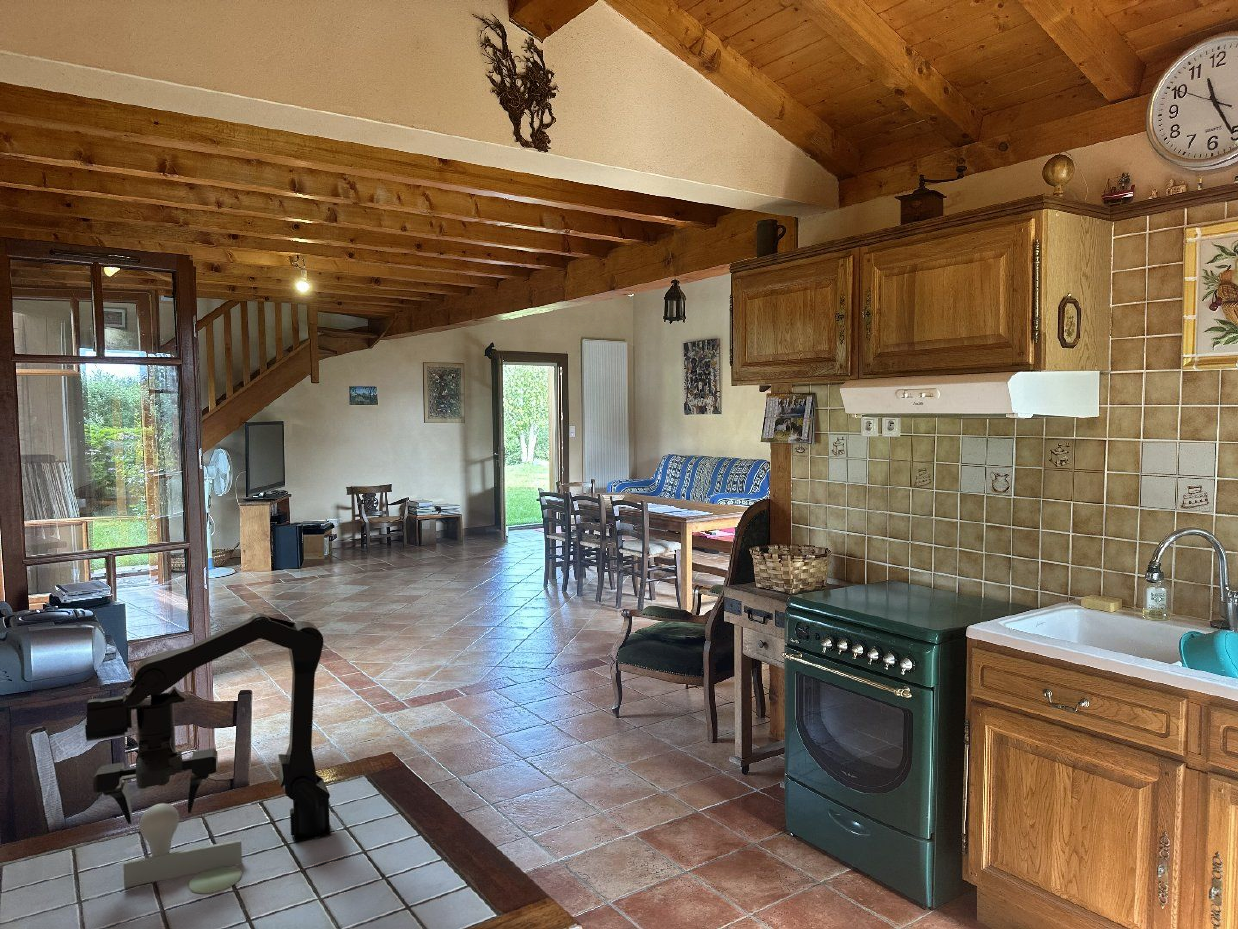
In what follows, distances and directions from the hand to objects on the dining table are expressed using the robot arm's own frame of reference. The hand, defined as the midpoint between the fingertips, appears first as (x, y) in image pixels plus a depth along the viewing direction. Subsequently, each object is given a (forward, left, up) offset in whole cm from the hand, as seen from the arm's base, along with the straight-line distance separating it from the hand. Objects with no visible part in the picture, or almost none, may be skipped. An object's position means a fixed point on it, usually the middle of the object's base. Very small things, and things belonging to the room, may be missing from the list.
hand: (160, 818), depth 147 cm
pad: (-9, +10, -9) cm, 16 cm away
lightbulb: (0, 0, -9) cm, 9 cm away
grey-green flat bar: (-4, +5, -9) cm, 11 cm away
